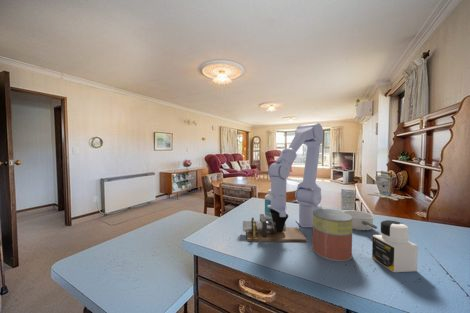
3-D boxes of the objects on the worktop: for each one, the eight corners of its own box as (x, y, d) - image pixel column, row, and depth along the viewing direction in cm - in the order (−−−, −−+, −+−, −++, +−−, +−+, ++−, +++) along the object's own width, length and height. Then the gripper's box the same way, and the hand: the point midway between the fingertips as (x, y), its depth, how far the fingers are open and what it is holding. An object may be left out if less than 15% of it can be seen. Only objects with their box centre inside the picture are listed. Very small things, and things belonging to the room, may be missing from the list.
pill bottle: (280, 221, 88) (280, 192, 87) (264, 219, 89) (264, 191, 89) (279, 215, 95) (280, 189, 95) (264, 214, 96) (265, 188, 96)
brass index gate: (254, 228, 77) (254, 216, 77) (256, 237, 69) (257, 224, 69) (250, 228, 77) (250, 216, 77) (251, 237, 69) (252, 224, 69)
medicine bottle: (371, 258, 57) (372, 218, 57) (393, 257, 58) (394, 218, 57) (393, 273, 50) (394, 227, 50) (418, 271, 51) (419, 227, 50)
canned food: (344, 244, 65) (345, 210, 65) (358, 263, 54) (359, 222, 54) (309, 241, 68) (310, 208, 67) (316, 258, 57) (317, 218, 56)
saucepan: (357, 240, 69) (357, 225, 69) (338, 221, 88) (338, 209, 88) (393, 243, 67) (393, 228, 66) (365, 223, 86) (366, 210, 86)
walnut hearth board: (296, 229, 78) (296, 227, 78) (306, 241, 67) (306, 239, 67) (246, 228, 78) (246, 226, 78) (247, 241, 67) (247, 238, 67)
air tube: (282, 230, 75) (283, 218, 75) (286, 235, 71) (286, 222, 71) (242, 229, 75) (242, 218, 75) (243, 234, 71) (243, 222, 71)
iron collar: (263, 228, 77) (263, 214, 77) (266, 237, 69) (266, 221, 69) (259, 228, 77) (259, 214, 77) (262, 237, 69) (262, 221, 69)
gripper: (265, 190, 80) (264, 222, 80) (271, 198, 65) (271, 237, 66) (281, 190, 80) (281, 222, 80) (292, 199, 65) (291, 238, 66)
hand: (278, 229), depth 73 cm, fingers closed on air tube, 4 cm apart
